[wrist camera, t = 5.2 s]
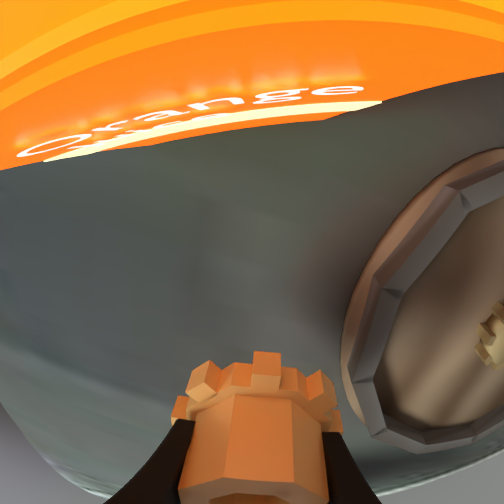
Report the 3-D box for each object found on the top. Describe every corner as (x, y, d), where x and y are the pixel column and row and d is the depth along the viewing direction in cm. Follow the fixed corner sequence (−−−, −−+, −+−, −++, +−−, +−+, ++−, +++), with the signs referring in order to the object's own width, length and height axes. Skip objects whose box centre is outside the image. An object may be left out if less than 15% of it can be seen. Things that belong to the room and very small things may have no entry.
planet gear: (183, 446, 13) (162, 525, 9) (174, 341, 11) (131, 440, 6) (319, 458, 13) (325, 538, 9) (357, 357, 11) (389, 460, 6)
